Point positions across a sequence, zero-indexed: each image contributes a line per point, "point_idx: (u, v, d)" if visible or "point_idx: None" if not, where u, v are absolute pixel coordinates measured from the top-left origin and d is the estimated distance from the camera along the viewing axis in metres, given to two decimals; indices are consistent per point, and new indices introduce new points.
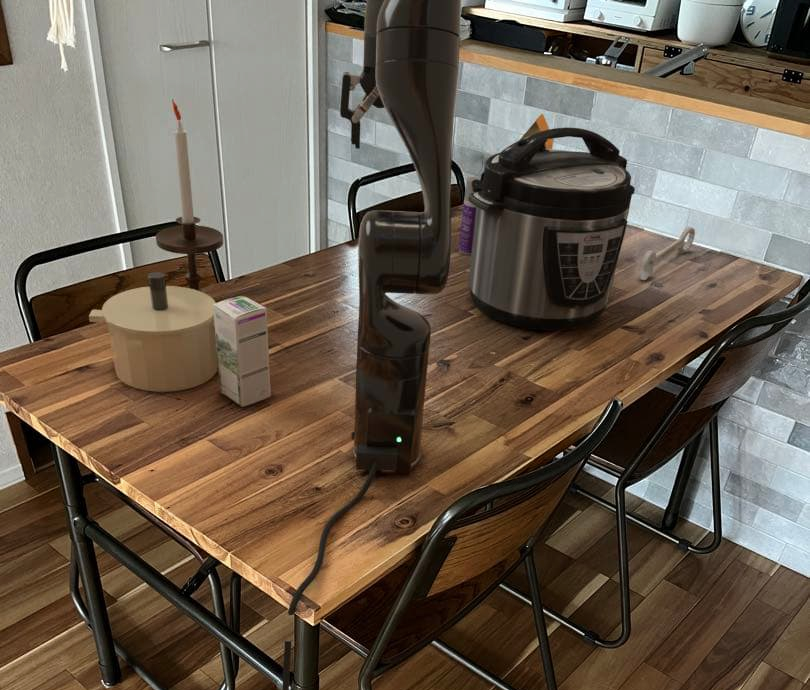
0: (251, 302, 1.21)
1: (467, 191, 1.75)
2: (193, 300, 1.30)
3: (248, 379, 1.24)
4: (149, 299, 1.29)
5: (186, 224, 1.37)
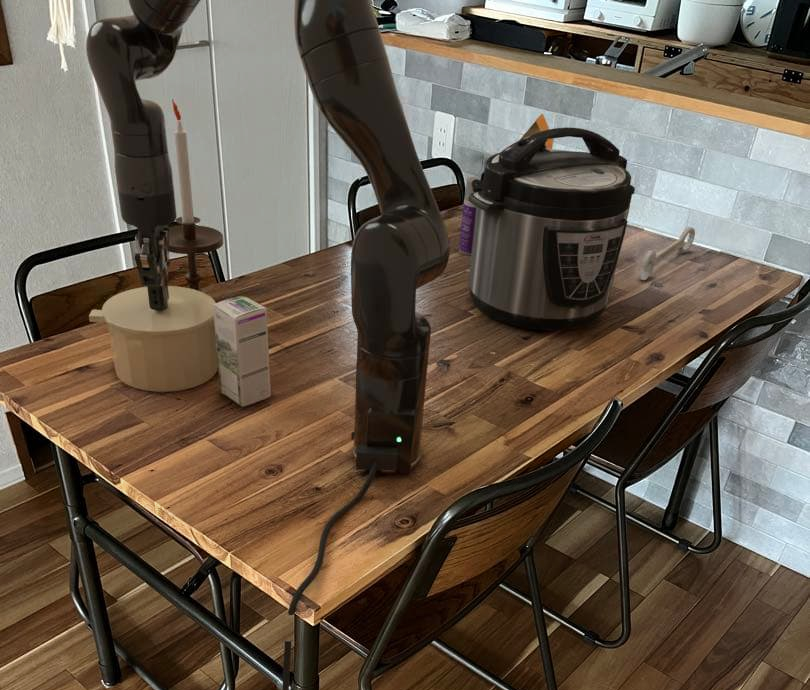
0: (251, 302, 1.21)
1: (467, 191, 1.75)
2: (193, 300, 1.30)
3: (248, 379, 1.24)
4: None
5: (186, 224, 1.37)
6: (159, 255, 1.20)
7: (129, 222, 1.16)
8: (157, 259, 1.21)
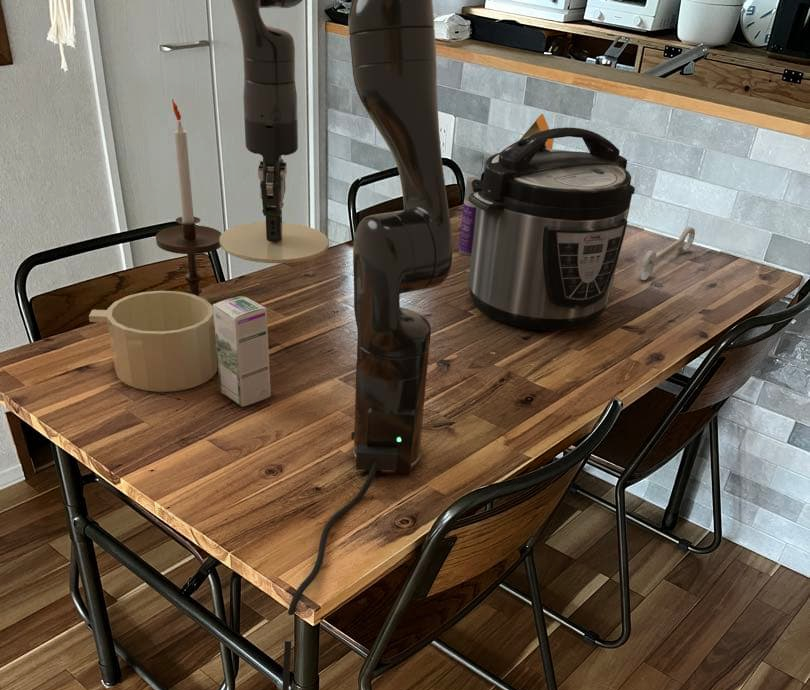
0: (251, 302, 1.21)
1: (467, 191, 1.75)
2: (304, 234, 1.33)
3: (248, 379, 1.24)
4: (262, 232, 1.33)
5: (186, 224, 1.37)
6: (280, 185, 1.24)
7: (255, 151, 1.20)
8: None
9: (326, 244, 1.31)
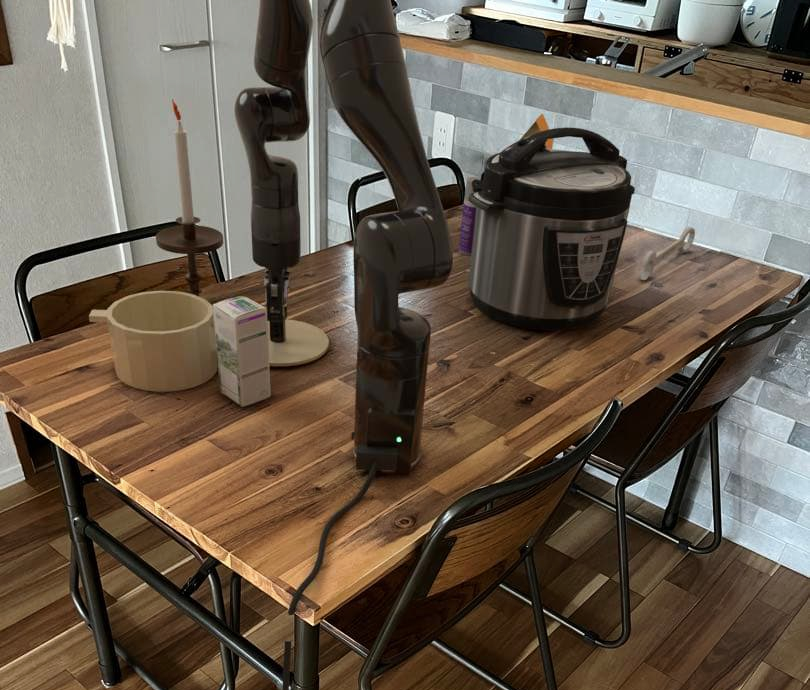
0: (251, 302, 1.21)
1: (467, 191, 1.75)
2: (306, 333, 1.44)
3: (248, 379, 1.24)
4: None
5: (186, 224, 1.37)
6: None
7: (261, 264, 1.30)
8: (282, 296, 1.34)
9: (326, 344, 1.41)
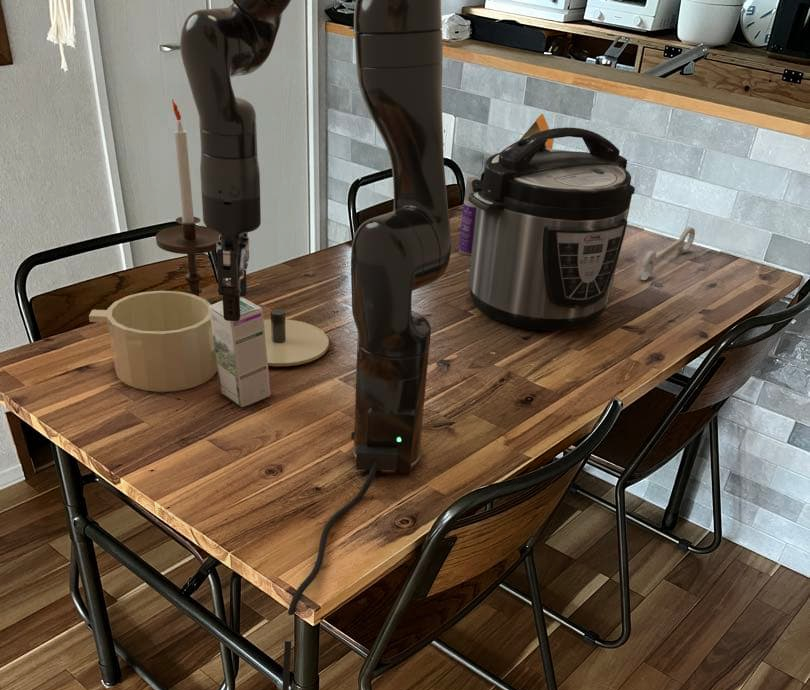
0: (247, 302, 1.20)
1: (467, 191, 1.75)
2: (306, 333, 1.44)
3: (247, 380, 1.24)
4: (267, 332, 1.43)
5: (186, 224, 1.37)
6: None
7: (212, 227, 1.09)
8: (238, 267, 1.14)
9: (326, 344, 1.41)
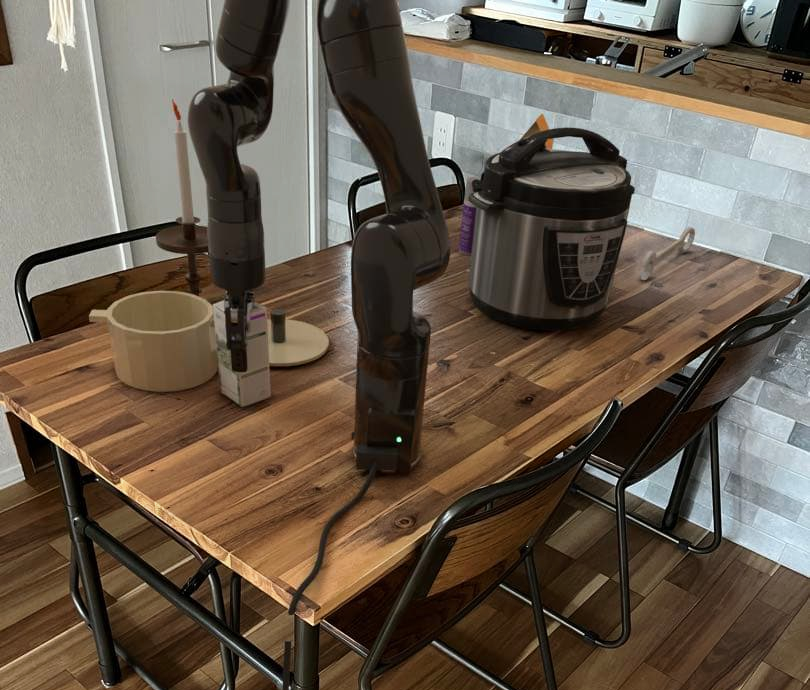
0: None
1: (467, 191, 1.75)
2: (306, 333, 1.44)
3: (248, 380, 1.24)
4: None
5: (186, 224, 1.37)
6: None
7: (220, 286, 1.14)
8: None
9: (326, 344, 1.41)
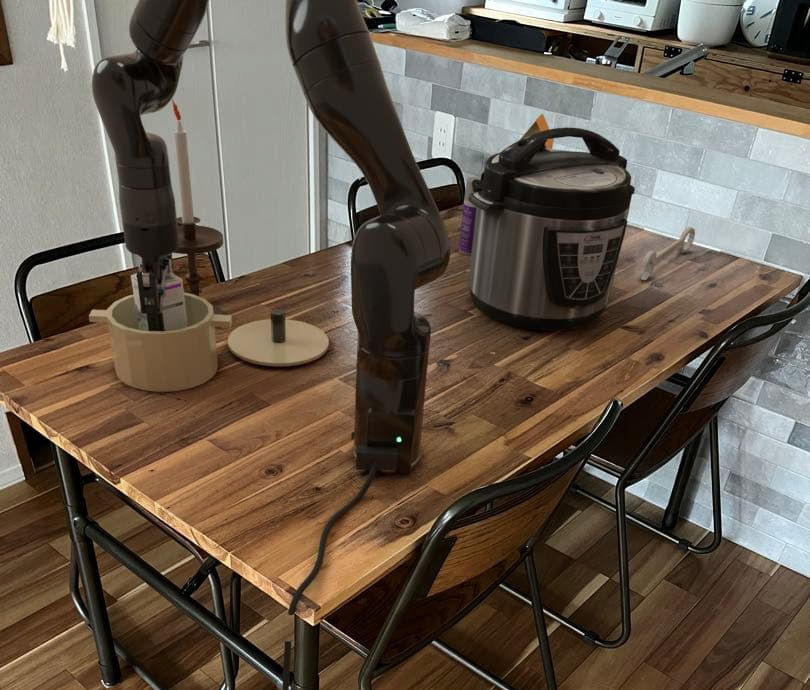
0: (168, 273, 1.25)
1: (467, 191, 1.75)
2: (306, 333, 1.44)
3: None
4: (267, 332, 1.43)
5: (186, 224, 1.37)
6: None
7: (133, 251, 1.19)
8: None
9: (326, 344, 1.41)
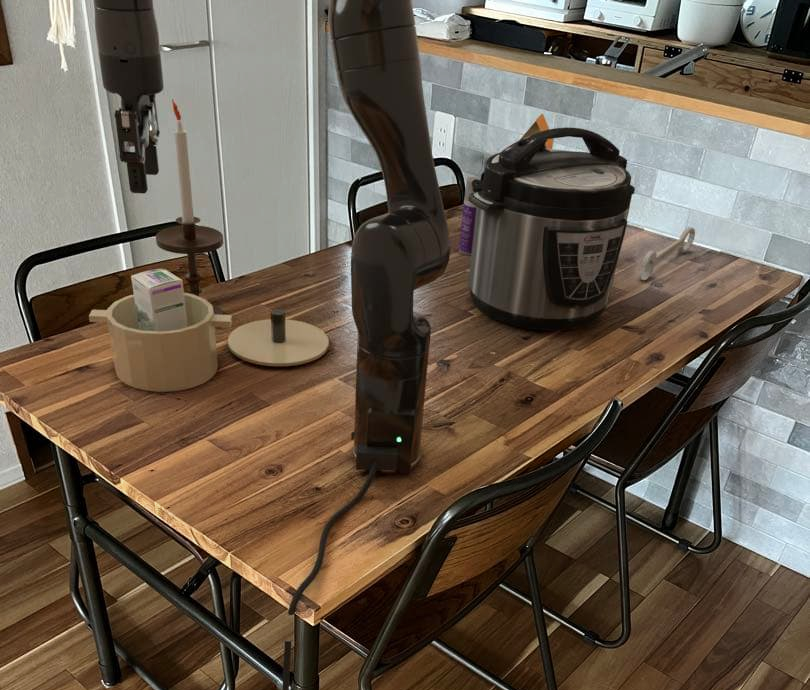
0: (168, 274, 1.25)
1: (467, 191, 1.75)
2: (306, 333, 1.44)
3: None
4: (267, 332, 1.43)
5: (186, 224, 1.37)
6: None
7: (111, 89, 1.06)
8: (142, 135, 1.11)
9: (326, 344, 1.41)
